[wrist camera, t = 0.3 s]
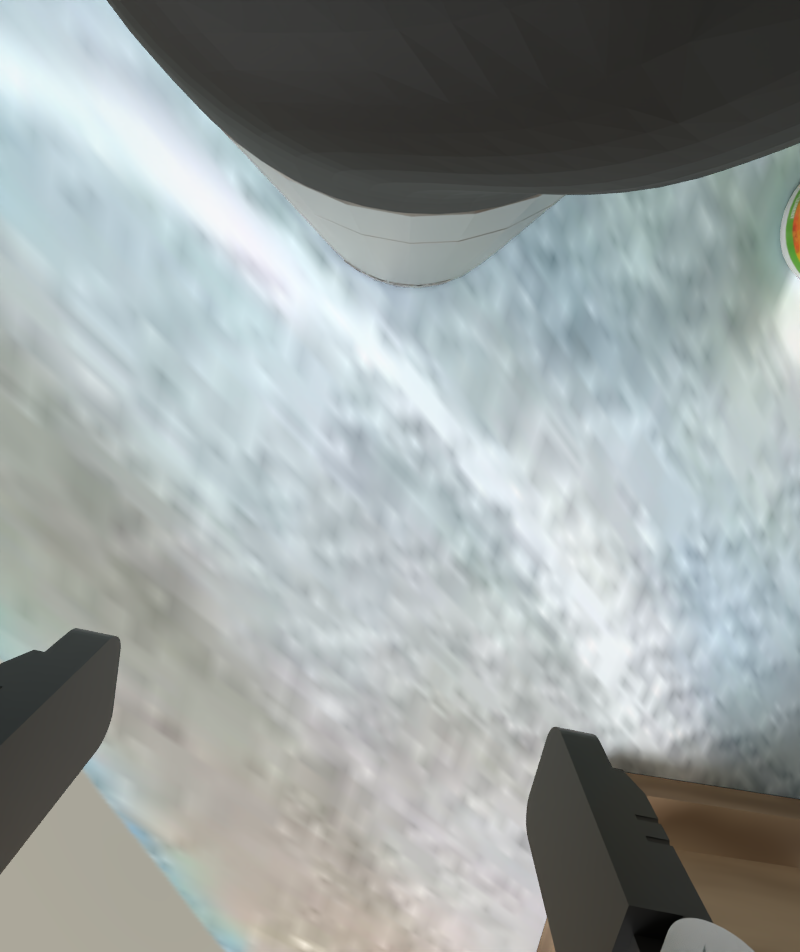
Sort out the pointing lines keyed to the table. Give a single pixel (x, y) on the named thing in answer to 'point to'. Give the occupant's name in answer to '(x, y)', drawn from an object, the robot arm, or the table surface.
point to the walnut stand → (733, 857)
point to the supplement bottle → (791, 233)
